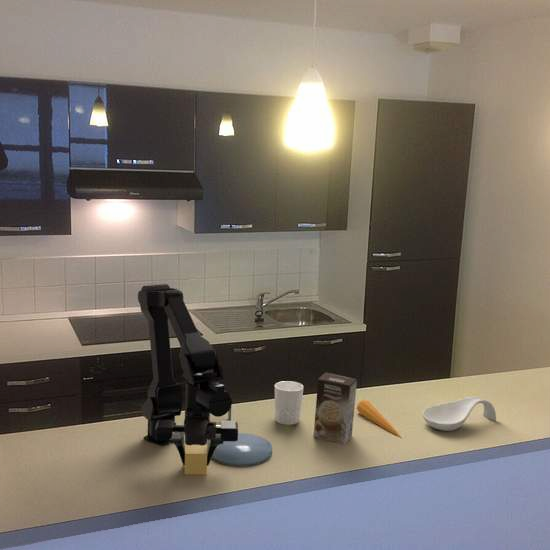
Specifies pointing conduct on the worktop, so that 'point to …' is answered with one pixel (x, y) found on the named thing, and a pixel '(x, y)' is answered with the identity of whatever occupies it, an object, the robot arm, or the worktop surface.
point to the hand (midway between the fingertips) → (195, 464)
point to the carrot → (374, 416)
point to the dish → (243, 451)
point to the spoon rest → (455, 413)
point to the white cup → (288, 402)
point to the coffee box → (335, 407)
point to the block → (196, 459)
